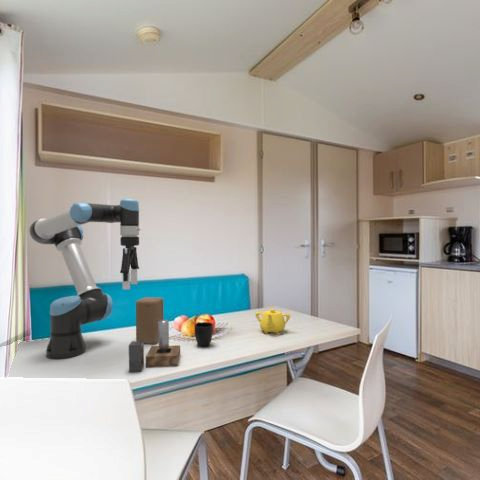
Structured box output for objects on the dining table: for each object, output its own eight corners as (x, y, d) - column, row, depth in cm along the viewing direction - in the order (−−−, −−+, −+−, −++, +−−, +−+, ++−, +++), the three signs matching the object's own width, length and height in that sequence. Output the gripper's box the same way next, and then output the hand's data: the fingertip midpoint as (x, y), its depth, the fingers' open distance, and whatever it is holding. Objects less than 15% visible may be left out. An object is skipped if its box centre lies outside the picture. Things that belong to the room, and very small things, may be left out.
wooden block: (155, 344, 154) (154, 301, 154) (135, 343, 156) (134, 300, 156) (164, 338, 164) (164, 297, 164) (145, 337, 166) (145, 296, 166)
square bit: (129, 372, 124) (128, 345, 124) (131, 367, 128) (131, 341, 128) (141, 371, 124) (141, 345, 124) (143, 367, 129) (143, 341, 129)
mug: (207, 339, 162) (207, 319, 162) (215, 346, 151) (215, 325, 151) (190, 341, 159) (190, 321, 159) (197, 349, 148) (197, 327, 148)
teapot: (252, 331, 176) (252, 308, 176) (274, 326, 183) (274, 305, 183) (269, 337, 164) (269, 313, 164) (291, 333, 172) (291, 310, 172)
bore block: (145, 367, 129) (145, 356, 129) (151, 355, 141) (151, 346, 140) (177, 365, 130) (177, 355, 130) (180, 354, 142) (180, 345, 141)
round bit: (158, 362, 133) (157, 322, 133) (159, 358, 137) (159, 319, 137) (168, 362, 133) (167, 322, 133) (169, 358, 137) (169, 319, 137)
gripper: (132, 236, 130) (132, 291, 130) (144, 235, 154) (145, 282, 155) (112, 236, 129) (112, 291, 129) (128, 236, 154) (128, 282, 154)
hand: (130, 286), depth 142 cm, fingers open, 13 cm apart
